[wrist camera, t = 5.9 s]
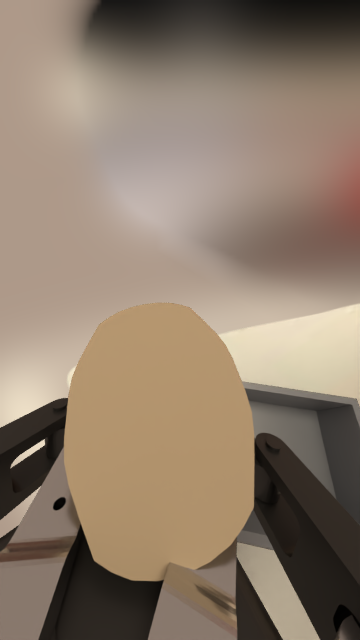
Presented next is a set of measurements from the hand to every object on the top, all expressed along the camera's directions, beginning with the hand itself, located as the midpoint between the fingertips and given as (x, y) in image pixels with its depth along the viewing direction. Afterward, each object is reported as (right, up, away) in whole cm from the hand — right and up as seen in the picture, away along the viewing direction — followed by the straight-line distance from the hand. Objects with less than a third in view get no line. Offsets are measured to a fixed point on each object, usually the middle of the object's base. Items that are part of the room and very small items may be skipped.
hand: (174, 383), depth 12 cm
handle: (0, -6, +6) cm, 8 cm away
